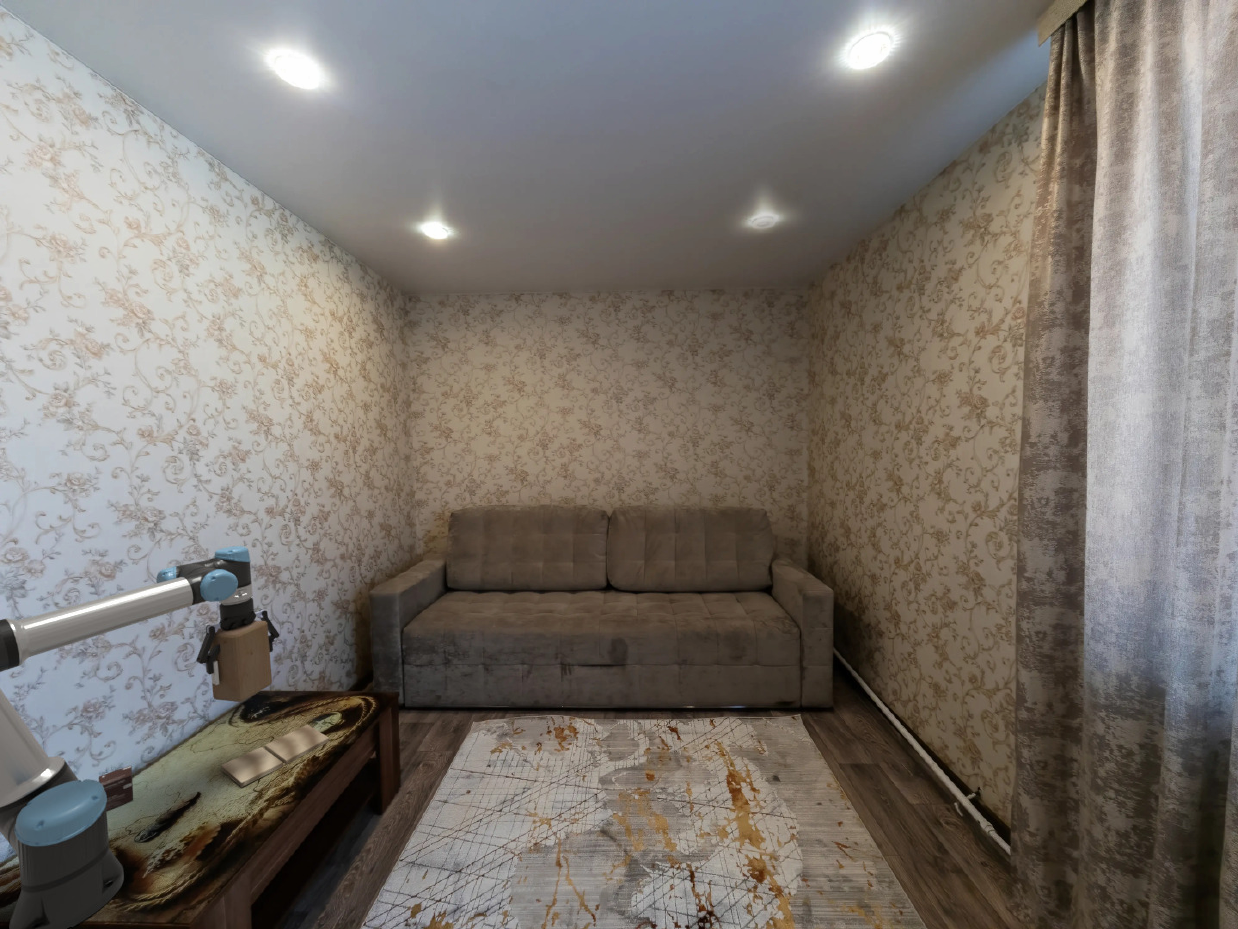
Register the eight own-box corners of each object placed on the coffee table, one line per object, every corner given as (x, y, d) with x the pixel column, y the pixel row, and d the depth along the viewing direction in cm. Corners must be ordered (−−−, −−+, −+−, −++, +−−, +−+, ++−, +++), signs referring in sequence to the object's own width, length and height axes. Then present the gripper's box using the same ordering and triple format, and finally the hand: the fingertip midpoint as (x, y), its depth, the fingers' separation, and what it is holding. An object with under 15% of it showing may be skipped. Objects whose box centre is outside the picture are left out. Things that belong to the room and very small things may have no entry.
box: (99, 815, 118) (97, 787, 118) (100, 802, 122) (98, 776, 122) (133, 801, 123) (131, 775, 122) (133, 789, 127) (131, 764, 127)
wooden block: (240, 703, 128) (234, 634, 126) (211, 700, 129) (205, 632, 128) (273, 684, 137) (268, 619, 136) (246, 681, 139) (241, 618, 138)
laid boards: (286, 764, 136) (286, 760, 136) (265, 748, 143) (265, 745, 143) (329, 741, 146) (329, 738, 146) (307, 727, 153) (307, 724, 153)
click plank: (241, 787, 127) (241, 783, 126) (221, 769, 134) (221, 765, 134) (282, 766, 135) (282, 762, 135) (261, 750, 142) (261, 746, 142)
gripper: (186, 618, 119) (193, 697, 121) (289, 589, 140) (294, 658, 141) (175, 612, 123) (183, 690, 125) (277, 586, 144) (282, 652, 145)
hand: (242, 673), depth 133 cm, fingers closed on wooden block, 12 cm apart
